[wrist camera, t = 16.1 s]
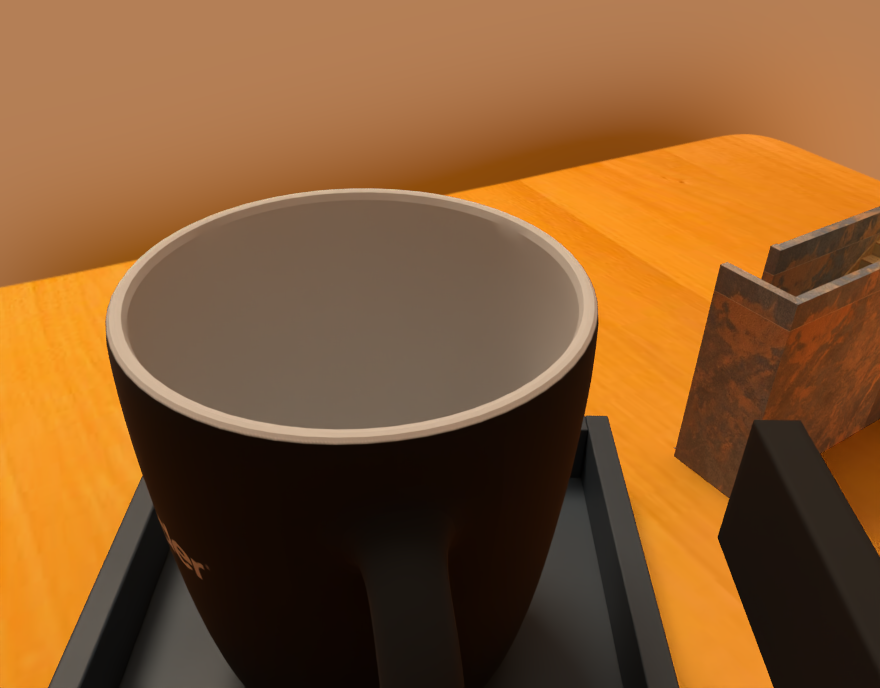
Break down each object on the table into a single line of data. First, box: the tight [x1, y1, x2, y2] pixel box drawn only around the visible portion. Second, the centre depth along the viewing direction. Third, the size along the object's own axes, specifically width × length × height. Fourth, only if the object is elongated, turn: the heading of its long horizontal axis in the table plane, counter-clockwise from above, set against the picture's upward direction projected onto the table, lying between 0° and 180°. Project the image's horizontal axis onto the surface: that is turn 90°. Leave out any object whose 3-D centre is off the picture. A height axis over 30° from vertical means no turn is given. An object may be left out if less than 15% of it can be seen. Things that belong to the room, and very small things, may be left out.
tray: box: [48, 416, 679, 688], centre depth 19 cm, size 13×15×2 cm
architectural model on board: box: [674, 207, 880, 498], centre depth 27 cm, size 11×3×10 cm, turn 124°
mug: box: [106, 189, 598, 688], centre depth 17 cm, size 12×9×10 cm
